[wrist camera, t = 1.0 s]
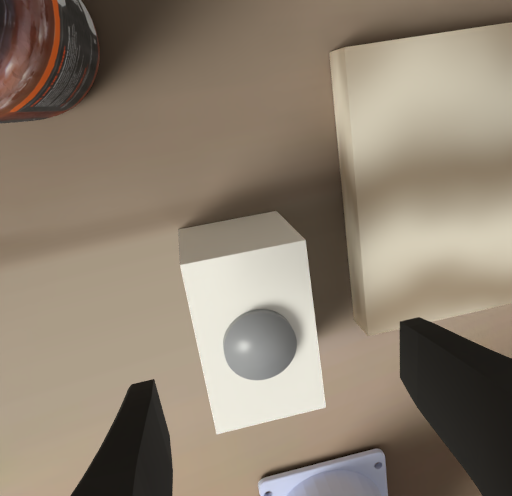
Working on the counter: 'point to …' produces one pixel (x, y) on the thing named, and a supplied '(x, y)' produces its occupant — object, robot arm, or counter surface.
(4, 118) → the supplement bottle
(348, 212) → the stand
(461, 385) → the robot arm
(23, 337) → the counter surface
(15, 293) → the counter surface
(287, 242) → the housing
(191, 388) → the counter surface
